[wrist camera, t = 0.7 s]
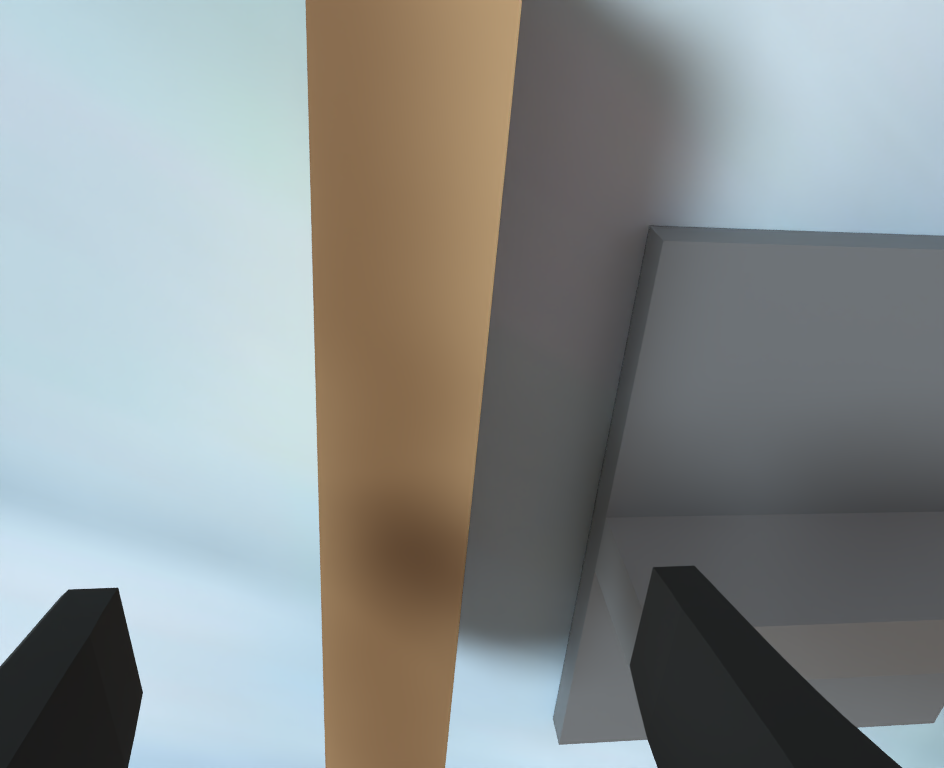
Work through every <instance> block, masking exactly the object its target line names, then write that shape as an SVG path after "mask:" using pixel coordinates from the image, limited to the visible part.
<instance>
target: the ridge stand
mask: <svg viewBox="0 0 944 768" xmlns="http://www.w3.org/2000/svg"><path fill="white" fill-rule="evenodd" d="M668 566H695V567H696V568H697V569H698V570H699V571H700V572H701V573H702V574H703V575H704V576H705V577H706V578H707V579H708V580H709V581H710V582H711V583H712V584H713V585H714V586H715V587H716V588H717V590H718V591H719V592H720V593H721V594H722V595H723V596H724V597H725V598H726V599H727V600H728V601H729V602H730V603H731V604H732V605H733V606H734V607H735V608H736V609H737V610H738V611H739V613H740V614H741V615H742V616H743V617H744V618H745V619H746V620H747V621H748V622H749V623H750V624H751V625H752V626H753V627H754V628H755V629H756V630H757V631H758V632H759V633H760V634H761V635H762V636H763V637H764V638H765V639H766V641H767V642H768V643H769V644H770V645H771V646H772V647H773V648H774V649H775V650H776V651H777V652H778V653H779V654H780V655H781V656H782V657H783V658H784V659H785V660H786V661H787V662H788V663H789V664H790V665H791V666H792V667H793V668H794V669H795V670H796V671H797V672H798V673H799V674H800V675H801V676H802V677H803V678H805V679H806V680H807V681H808V682H809V683H810V684H811V685H812V686H813V687H814V688H815V689H816V690H817V691H818V692H819V693H820V694H821V695H822V696H823V697H824V698H825V699H826V700H827V701H828V702H829V703H830V704H831V705H833V706H834V707H835V708H836V709H837V710H838V711H839V712H840V713H841V714H842V715H843V716H844V717H845V718H847V719H848V720H849V721H850V722H851V723H852V724H853V725H854V726H855V727H874V726H891V725H908V724H926V723H934V722H935V720H936V718H937V717H938V715H939V713H940V711H941V710H942V708H943V706H944V236H930V235H901V234H872V233H843V232H814V231H785V230H756V229H727V228H698V227H669V226H650V227H649V232H648V237H647V242H646V247H645V252H644V257H643V262H642V267H641V273H640V278H639V283H638V288H637V293H636V298H635V303H634V308H633V313H632V318H631V324H630V329H629V334H628V339H627V344H626V349H625V354H624V359H623V364H622V369H621V375H620V380H619V385H618V390H617V395H616V400H615V405H614V410H613V415H612V421H611V426H610V431H609V436H608V441H607V446H606V451H605V456H604V461H603V466H602V472H601V477H600V482H599V487H598V492H597V497H596V502H595V507H594V512H593V517H592V523H591V528H590V533H589V538H588V543H587V548H586V553H585V558H584V563H583V568H582V574H581V579H580V584H579V589H578V594H577V599H576V604H575V609H574V614H573V619H572V625H571V630H570V635H569V640H568V645H567V650H566V655H565V660H564V665H563V671H562V676H561V681H560V686H559V691H558V696H557V701H556V706H555V711H554V716H553V721H554V725H555V730H556V734H557V738H558V743H559V745H562V744H579V743H597V742H614V741H631V740H648V739H647V736H646V732H645V728H644V724H643V720H642V716H641V712H640V709H639V705H638V700H637V696H636V692H635V687H634V683H633V679H632V674H631V670H630V662H631V657H632V653H633V649H634V645H635V641H636V636H637V632H638V628H639V624H640V620H641V615H642V611H643V607H644V603H645V599H646V594H647V590H648V586H649V582H650V578H651V573H652V569H653V567H668Z"/></svg>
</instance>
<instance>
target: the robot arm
mask: <svg viewBox="0 0 944 768" xmlns="http://www.w3.org/2000/svg"><path fill="white" fill-rule="evenodd" d="M630 670H631V674H632V679H633V683H634V687H635V692H636V696H637V700H638V705H639V709H640V712H641V716H642V720H643V724H644V728H645V732H646V736H647V739H648V742H649V745H650V748H651V750H652V753H653V756H654V759H655V761H656V764H657V767H658V768H902V767H901V766H900V765H898V764H897V763H896V762H895V761H894V760H893V759H891V758H890V757H889V756H888V755H887V754H886V753H884V752H883V751H882V750H881V749H880V748H879V747H878V746H877V745H876V744H874V743H873V742H872V741H871V740H870V739H869V738H868V737H867V736H866V735H864V734H863V733H862V732H861V731H860V730H859V729H858V728H857V727H855V726H854V725H853V724H852V723H851V722H850V721H849V720H848V719H847V718H845V717H844V716H843V715H842V714H841V713H840V712H839V711H838V710H837V709H836V708H835V707H834V706H833V705H831V704H830V703H829V702H828V701H827V700H826V699H825V698H824V697H823V696H822V695H821V694H820V693H819V692H818V691H817V690H816V689H815V688H814V687H813V686H812V685H811V684H810V683H809V682H808V681H807V680H806V679H805V678H803V677H802V676H801V675H800V674H799V673H798V672H797V671H796V670H795V669H794V668H793V667H792V666H791V665H790V664H789V663H788V662H787V661H786V660H785V659H784V658H783V657H782V656H781V655H780V654H779V653H778V652H777V651H776V650H775V649H774V648H773V647H772V646H771V645H770V644H769V643H768V642H767V641H766V639H765V638H764V637H763V636H762V635H761V634H760V633H759V632H758V631H757V630H756V629H755V628H754V627H753V626H752V625H751V624H750V623H749V622H748V621H747V620H746V619H745V618H744V617H743V616H742V615H741V614H740V613H739V611H738V610H737V609H736V608H735V607H734V606H733V605H732V604H731V603H730V602H729V601H728V600H727V599H726V598H725V597H724V596H723V595H722V594H721V593H720V592H719V591H718V590H717V588H716V587H715V586H714V585H713V584H712V583H711V582H710V581H709V580H708V579H707V578H706V577H705V576H704V575H703V574H702V573H701V572H700V571H699V570H698V569H697V568H696V567H695V566H668V567H653V569H652V573H651V578H650V582H649V586H648V590H647V594H646V599H645V603H644V607H643V611H642V615H641V620H640V624H639V628H638V632H637V636H636V641H635V645H634V649H633V653H632V657H631V662H630ZM142 694H143V691H142V687H141V683H140V679H139V674H138V670H137V666H136V662H135V657H134V653H133V649H132V645H131V640H130V636H129V632H128V628H127V623H126V619H125V615H124V611H123V606H122V602H121V598H120V594H119V589H118V588H98V589H72V590H68V591H67V592H66V593H64V594H63V595H62V596H61V597H60V598H59V600H58V601H57V602H56V603H55V604H54V605H53V606H52V608H51V609H50V610H49V611H48V612H47V613H46V614H45V616H44V617H43V618H42V619H41V620H40V621H39V623H38V624H37V625H36V626H35V627H34V628H33V629H32V631H31V632H30V633H29V634H28V635H27V636H26V638H25V639H24V640H23V641H22V642H21V643H20V644H19V646H18V647H17V648H16V649H15V650H14V651H13V653H12V654H11V655H10V656H9V657H8V658H7V659H6V660H5V662H4V663H3V664H2V665H1V666H0V768H128V764H129V760H130V755H131V750H132V745H133V741H134V736H135V731H136V726H137V720H138V715H139V710H140V704H141V699H142Z"/></svg>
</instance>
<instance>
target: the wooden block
mask: <svg viewBox="0 0 944 768" xmlns="http://www.w3.org/2000/svg"><path fill="white" fill-rule="evenodd" d="M521 6H522V0H306V33H307V71H308V109H309V148H310V186H311V224H312V263H313V301H314V340H315V378H316V416H317V455H318V493H319V531H320V570H321V608H322V646H323V685H324V723H325V762H326V768H445V762H446V752H447V742H448V732H449V722H450V712H451V702H452V692H453V682H454V672H455V662H456V652H457V642H458V633H459V623H460V613H461V603H462V593H463V583H464V573H465V563H466V553H467V543H468V533H469V523H470V513H471V503H472V493H473V483H474V473H475V463H476V453H477V443H478V434H479V424H480V414H481V404H482V394H483V384H484V374H485V364H486V354H487V344H488V334H489V324H490V314H491V304H492V294H493V284H494V274H495V264H496V254H497V244H498V235H499V225H500V215H501V205H502V195H503V185H504V175H505V165H506V155H507V145H508V135H509V125H510V115H511V105H512V95H513V85H514V75H515V65H516V55H517V45H518V35H519V26H520V16H521Z"/></svg>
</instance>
